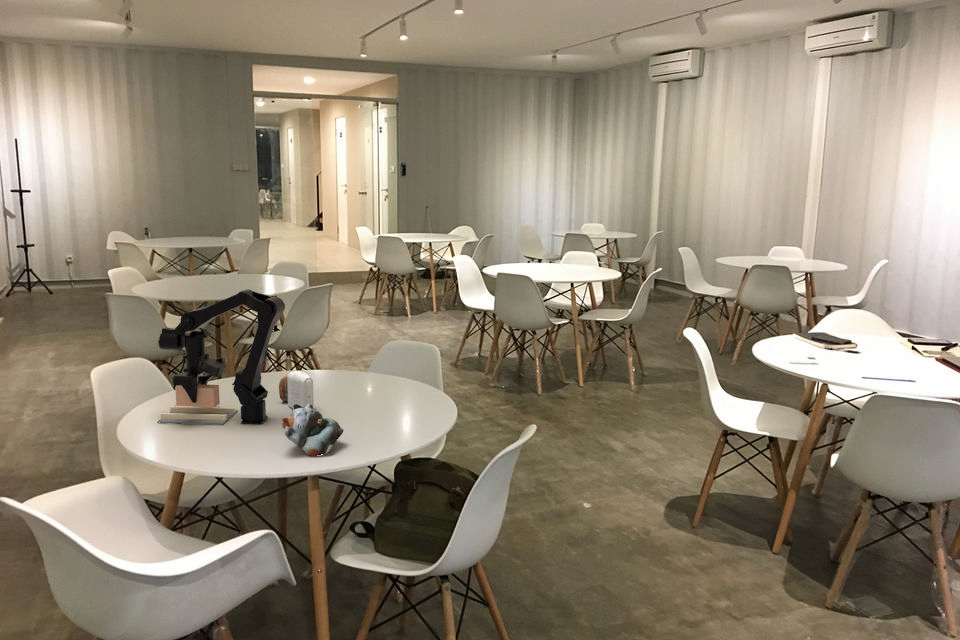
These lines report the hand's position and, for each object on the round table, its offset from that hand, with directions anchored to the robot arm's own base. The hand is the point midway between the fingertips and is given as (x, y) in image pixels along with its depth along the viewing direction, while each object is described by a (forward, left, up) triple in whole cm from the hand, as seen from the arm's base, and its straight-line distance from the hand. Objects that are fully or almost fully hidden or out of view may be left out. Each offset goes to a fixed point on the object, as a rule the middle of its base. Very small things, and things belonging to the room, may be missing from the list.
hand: (197, 400), depth 235 cm
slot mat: (0, 0, -5) cm, 5 cm away
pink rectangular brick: (0, 0, -1) cm, 1 cm away
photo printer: (-29, -11, -6) cm, 31 cm away
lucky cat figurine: (-41, +25, -6) cm, 49 cm away
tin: (-23, -23, -6) cm, 33 cm away
